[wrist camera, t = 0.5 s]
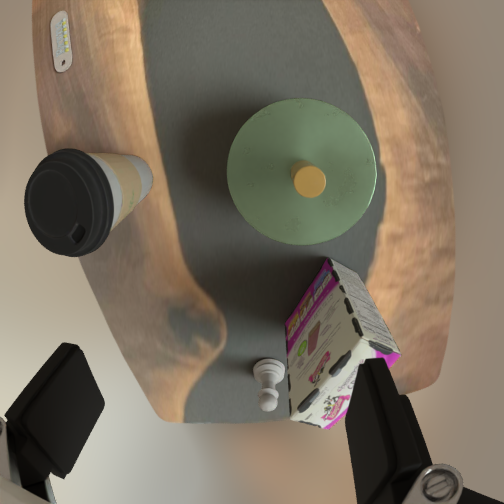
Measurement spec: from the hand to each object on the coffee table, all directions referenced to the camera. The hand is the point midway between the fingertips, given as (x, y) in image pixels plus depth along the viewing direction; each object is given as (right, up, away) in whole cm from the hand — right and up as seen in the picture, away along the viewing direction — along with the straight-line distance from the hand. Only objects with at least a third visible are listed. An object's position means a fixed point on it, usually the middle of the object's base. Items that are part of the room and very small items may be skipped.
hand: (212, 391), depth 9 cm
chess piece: (+4, -13, +35) cm, 37 cm away
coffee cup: (-13, +13, +26) cm, 32 cm away
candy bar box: (+10, -2, +30) cm, 32 cm away
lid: (+6, +12, +18) cm, 22 cm away
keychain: (-24, +33, +19) cm, 45 cm away
